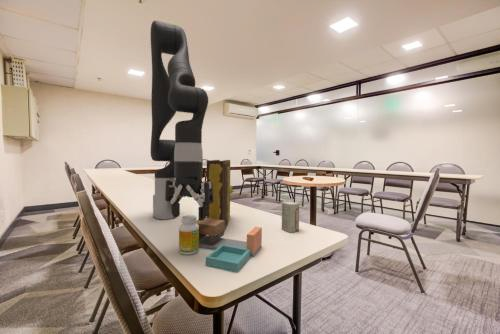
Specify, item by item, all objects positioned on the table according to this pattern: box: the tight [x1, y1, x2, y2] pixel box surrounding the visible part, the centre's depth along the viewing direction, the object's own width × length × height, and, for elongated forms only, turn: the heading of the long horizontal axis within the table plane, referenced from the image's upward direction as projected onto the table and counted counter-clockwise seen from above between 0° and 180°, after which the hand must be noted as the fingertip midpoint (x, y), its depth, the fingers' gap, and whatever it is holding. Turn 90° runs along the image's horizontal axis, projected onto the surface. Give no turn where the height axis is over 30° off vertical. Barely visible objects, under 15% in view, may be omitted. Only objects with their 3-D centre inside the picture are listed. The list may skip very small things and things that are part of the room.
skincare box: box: [281, 201, 300, 233], centre depth 81 cm, size 5×4×10 cm
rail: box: [199, 226, 263, 257], centre depth 66 cm, size 21×7×6 cm, turn 69°
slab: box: [196, 217, 226, 244], centre depth 68 cm, size 8×6×5 cm
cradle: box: [204, 244, 252, 273], centre depth 57 cm, size 9×9×2 cm
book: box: [206, 159, 234, 233], centre depth 87 cm, size 22×8×25 cm, turn 179°
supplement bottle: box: [178, 214, 200, 256], centre depth 62 cm, size 5×5×10 cm
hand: (188, 218), depth 62 cm, fingers open, 8 cm apart
